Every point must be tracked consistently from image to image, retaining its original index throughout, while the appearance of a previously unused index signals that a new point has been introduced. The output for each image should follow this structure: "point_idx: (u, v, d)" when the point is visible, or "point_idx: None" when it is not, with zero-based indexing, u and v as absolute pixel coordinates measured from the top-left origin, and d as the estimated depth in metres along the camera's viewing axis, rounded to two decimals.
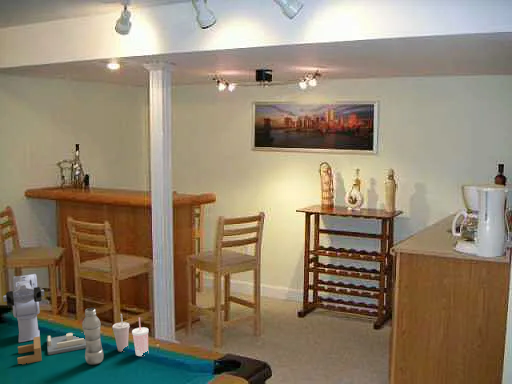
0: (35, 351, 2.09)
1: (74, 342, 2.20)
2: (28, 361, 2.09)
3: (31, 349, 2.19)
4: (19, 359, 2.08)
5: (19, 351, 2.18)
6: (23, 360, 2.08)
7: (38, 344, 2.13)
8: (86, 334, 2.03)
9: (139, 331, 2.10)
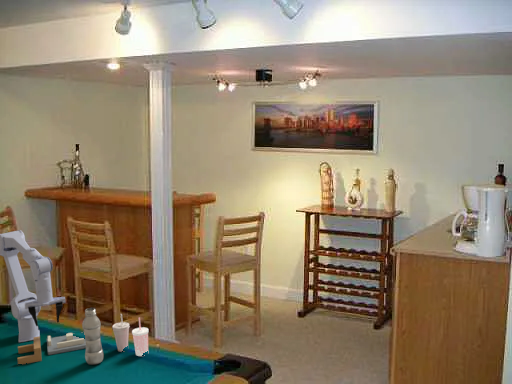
0: (35, 351, 2.09)
1: (74, 342, 2.20)
2: (28, 361, 2.09)
3: (31, 349, 2.19)
4: (19, 359, 2.08)
5: (19, 351, 2.18)
6: (23, 360, 2.08)
7: (38, 344, 2.13)
8: (86, 334, 2.03)
9: (139, 331, 2.10)
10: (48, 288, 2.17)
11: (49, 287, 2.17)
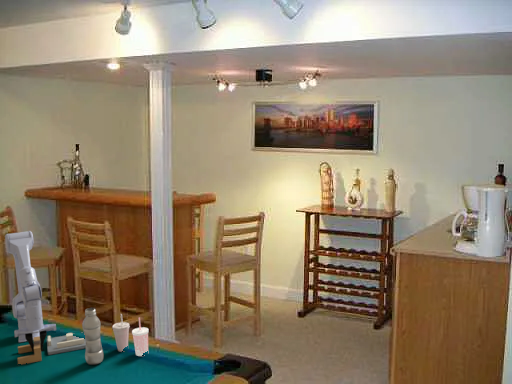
0: (35, 351, 2.09)
1: (74, 342, 2.20)
2: (28, 361, 2.09)
3: (31, 349, 2.19)
4: (19, 359, 2.08)
5: (19, 351, 2.18)
6: (23, 360, 2.08)
7: (38, 344, 2.13)
8: (86, 334, 2.03)
9: (139, 331, 2.10)
10: (36, 316, 2.11)
11: (37, 315, 2.11)
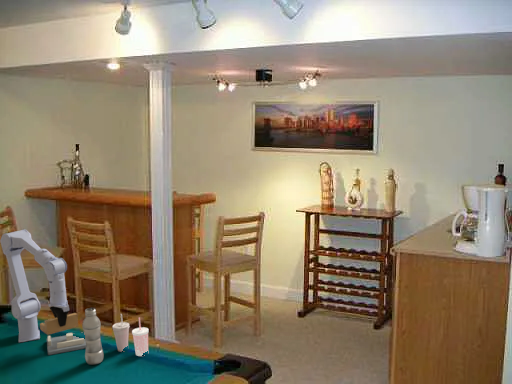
0: (45, 323, 2.16)
1: (74, 342, 2.20)
2: (43, 330, 2.18)
3: None
4: (40, 324, 2.21)
5: None
6: (41, 327, 2.20)
7: (55, 319, 2.17)
8: (86, 334, 2.03)
9: (139, 331, 2.10)
10: (63, 289, 2.16)
11: (64, 288, 2.17)
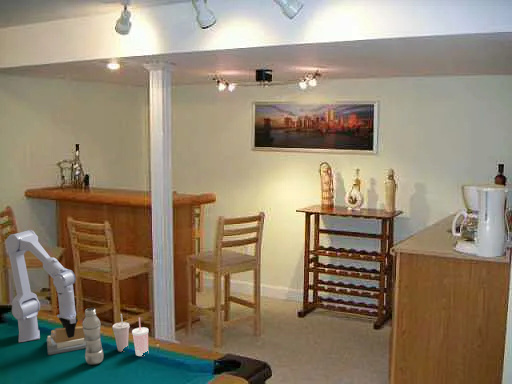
0: (55, 331, 2.20)
1: (74, 342, 2.20)
2: (53, 337, 2.22)
3: None
4: (51, 331, 2.24)
5: None
6: (52, 334, 2.23)
7: None
8: (86, 334, 2.03)
9: (139, 331, 2.10)
10: (72, 300, 2.19)
11: (73, 299, 2.20)
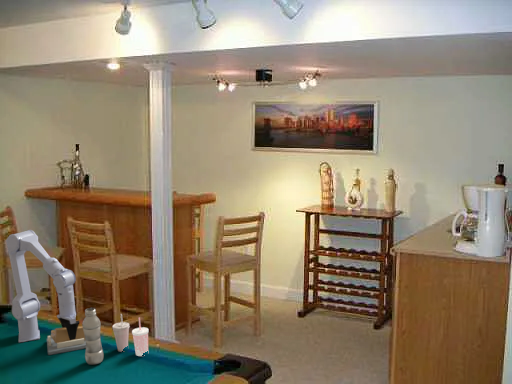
0: (55, 331, 2.20)
1: (74, 342, 2.20)
2: (53, 337, 2.22)
3: None
4: (51, 331, 2.24)
5: None
6: (52, 334, 2.23)
7: (65, 328, 2.20)
8: (86, 334, 2.03)
9: (139, 331, 2.10)
10: (72, 301, 2.19)
11: (73, 300, 2.20)
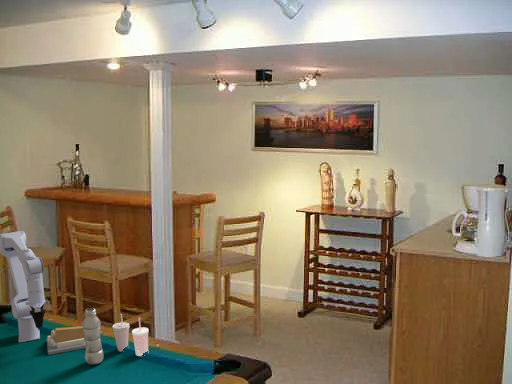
0: (55, 331, 2.20)
1: (74, 342, 2.20)
2: (53, 337, 2.22)
3: None
4: (51, 331, 2.24)
5: None
6: (52, 334, 2.23)
7: (65, 328, 2.20)
8: (86, 334, 2.03)
9: (139, 331, 2.10)
10: (39, 289, 2.16)
11: (40, 288, 2.17)
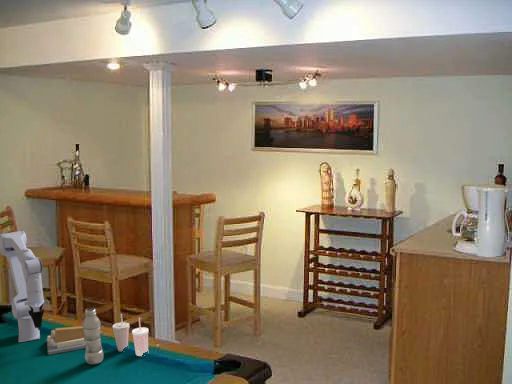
0: (55, 331, 2.20)
1: (74, 342, 2.20)
2: (53, 337, 2.22)
3: None
4: (51, 331, 2.24)
5: None
6: (52, 334, 2.23)
7: (65, 328, 2.20)
8: (86, 334, 2.03)
9: (139, 331, 2.10)
10: (37, 289, 2.16)
11: (39, 288, 2.16)
